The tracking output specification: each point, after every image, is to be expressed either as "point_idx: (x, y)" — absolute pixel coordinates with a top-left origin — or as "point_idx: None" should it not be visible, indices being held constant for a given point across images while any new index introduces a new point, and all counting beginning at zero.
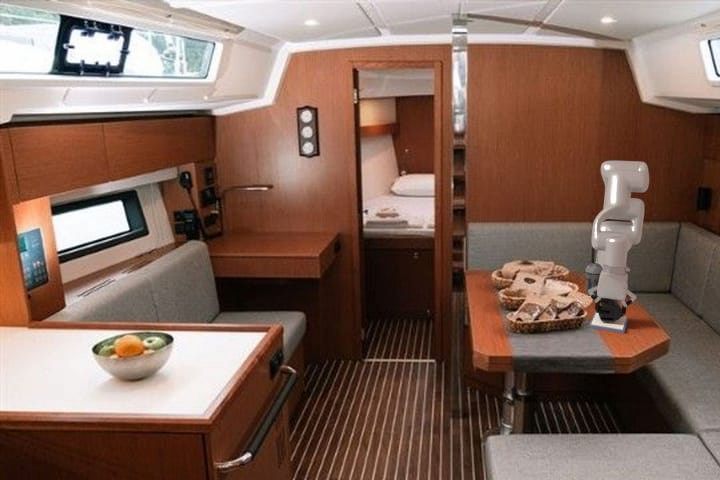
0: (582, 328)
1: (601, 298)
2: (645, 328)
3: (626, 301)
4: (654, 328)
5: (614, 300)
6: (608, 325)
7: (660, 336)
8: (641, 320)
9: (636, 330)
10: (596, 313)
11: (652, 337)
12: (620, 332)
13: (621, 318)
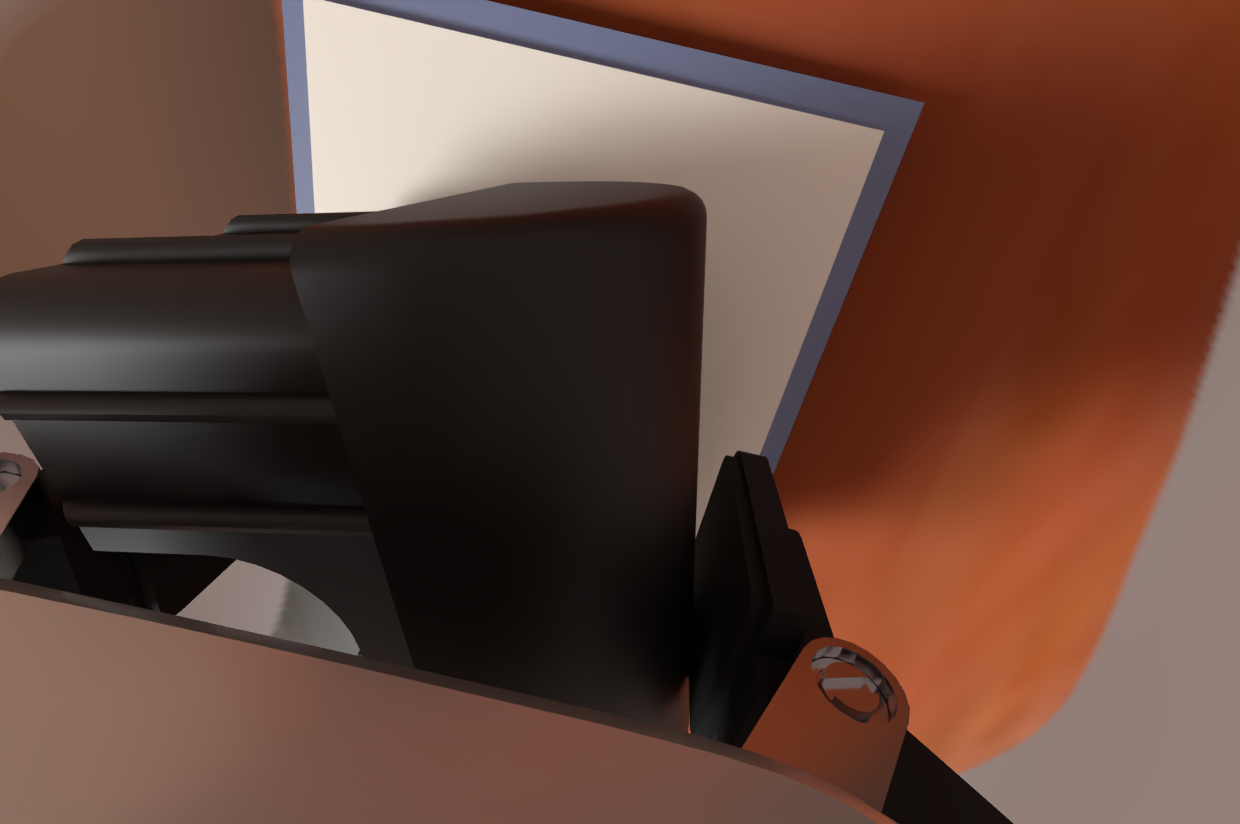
0: (290, 600)
1: (35, 412)
2: (1029, 460)
3: (875, 794)
4: (1181, 431)
5: (487, 630)
6: None
7: (1085, 656)
8: (1182, 58)
9: (864, 548)
10: (318, 115)
11: (969, 689)
12: None
13: (750, 279)
